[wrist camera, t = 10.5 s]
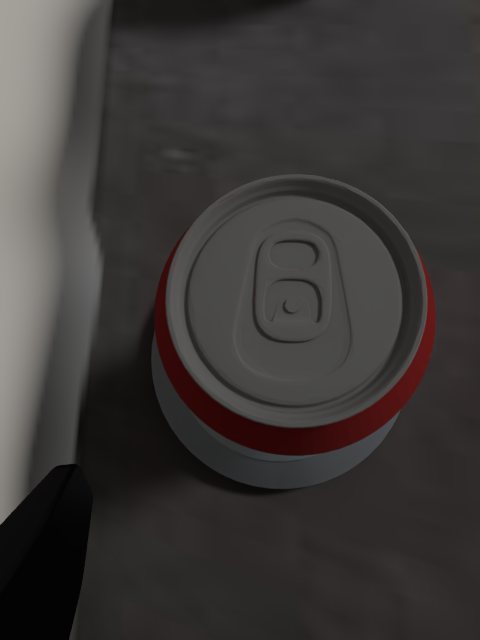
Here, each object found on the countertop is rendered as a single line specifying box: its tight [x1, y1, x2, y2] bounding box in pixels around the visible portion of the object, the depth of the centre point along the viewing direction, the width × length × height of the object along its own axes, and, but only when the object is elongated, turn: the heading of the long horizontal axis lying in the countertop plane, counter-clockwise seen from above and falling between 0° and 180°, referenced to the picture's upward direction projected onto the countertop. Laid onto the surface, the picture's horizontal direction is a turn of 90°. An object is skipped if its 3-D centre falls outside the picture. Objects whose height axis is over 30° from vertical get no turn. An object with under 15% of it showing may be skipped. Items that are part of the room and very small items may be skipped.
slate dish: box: [151, 330, 400, 489], centre depth 22 cm, size 12×12×1 cm
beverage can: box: [154, 174, 436, 456], centre depth 15 cm, size 7×7×12 cm
